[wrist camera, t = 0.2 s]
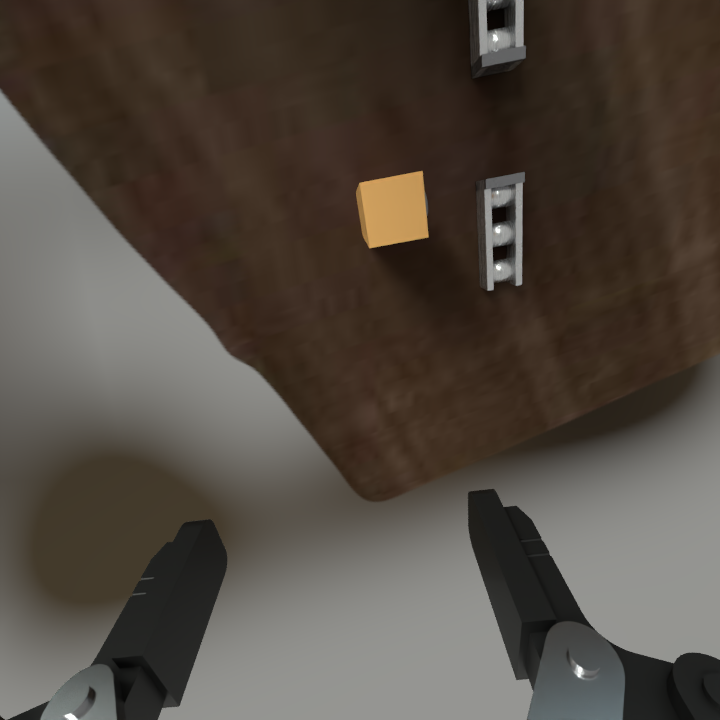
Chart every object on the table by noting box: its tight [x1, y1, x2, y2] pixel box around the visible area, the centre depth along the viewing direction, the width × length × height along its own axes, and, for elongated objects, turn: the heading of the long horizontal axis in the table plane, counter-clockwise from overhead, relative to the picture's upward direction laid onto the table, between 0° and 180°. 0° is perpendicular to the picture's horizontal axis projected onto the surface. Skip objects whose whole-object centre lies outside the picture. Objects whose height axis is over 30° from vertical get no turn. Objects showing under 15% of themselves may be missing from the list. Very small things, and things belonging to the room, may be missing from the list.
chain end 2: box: [476, 172, 525, 291], centre depth 34 cm, size 10×3×3 cm, turn 10°
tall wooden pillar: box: [356, 171, 429, 248], centre depth 28 cm, size 4×5×12 cm
